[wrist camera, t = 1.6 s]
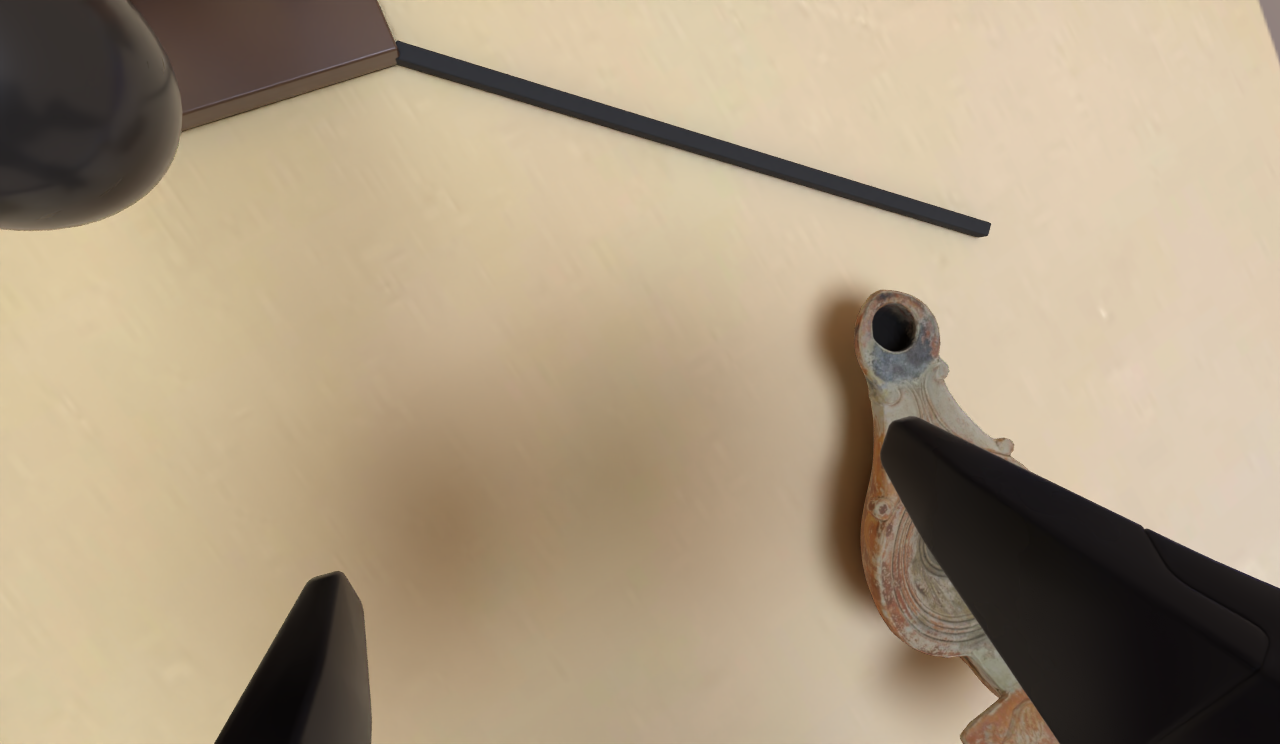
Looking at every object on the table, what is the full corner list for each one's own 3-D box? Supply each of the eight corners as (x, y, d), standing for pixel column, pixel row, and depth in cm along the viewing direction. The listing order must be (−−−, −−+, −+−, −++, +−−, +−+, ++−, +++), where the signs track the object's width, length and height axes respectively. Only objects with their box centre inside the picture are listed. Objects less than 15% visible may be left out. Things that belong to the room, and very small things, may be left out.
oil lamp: (888, 746, 29) (1091, 968, 19) (753, 326, 25) (923, 339, 15) (1031, 662, 30) (1285, 828, 21) (926, 256, 26) (1179, 227, 17)
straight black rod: (981, 224, 27) (992, 222, 26) (978, 237, 27) (988, 236, 26) (398, 46, 20) (395, 39, 20) (395, 64, 21) (392, 57, 20)
